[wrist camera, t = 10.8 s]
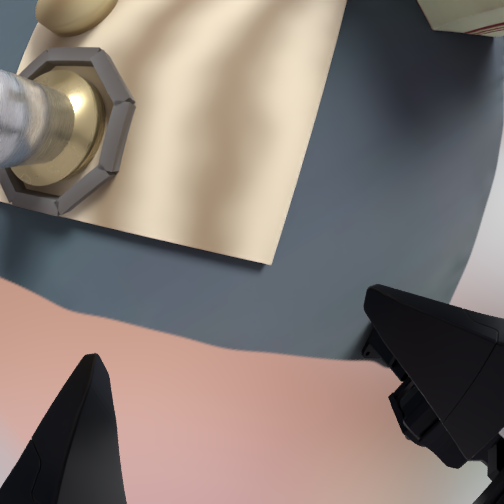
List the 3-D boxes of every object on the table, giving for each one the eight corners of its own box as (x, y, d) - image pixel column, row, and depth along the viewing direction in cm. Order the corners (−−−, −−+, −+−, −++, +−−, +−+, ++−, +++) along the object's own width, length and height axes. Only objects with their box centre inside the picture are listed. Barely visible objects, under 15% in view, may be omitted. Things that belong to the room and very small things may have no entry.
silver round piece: (103, 62, 14) (17, -9, 3) (112, 167, 16) (6, 184, 6) (17, 98, 13) (-85, 81, 3) (25, 194, 16) (-84, 233, 5)
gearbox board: (349, -24, 14) (366, -42, 11) (268, 260, 21) (279, 279, 18) (101, -64, 9) (93, -83, 6) (-2, 197, 16) (-28, 205, 13)
